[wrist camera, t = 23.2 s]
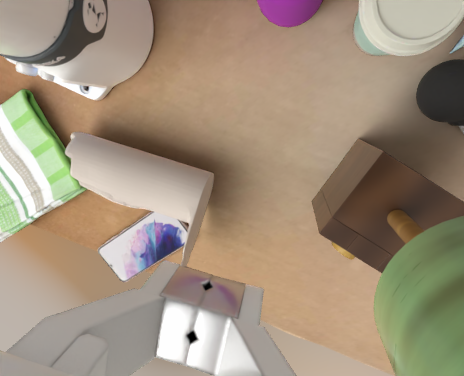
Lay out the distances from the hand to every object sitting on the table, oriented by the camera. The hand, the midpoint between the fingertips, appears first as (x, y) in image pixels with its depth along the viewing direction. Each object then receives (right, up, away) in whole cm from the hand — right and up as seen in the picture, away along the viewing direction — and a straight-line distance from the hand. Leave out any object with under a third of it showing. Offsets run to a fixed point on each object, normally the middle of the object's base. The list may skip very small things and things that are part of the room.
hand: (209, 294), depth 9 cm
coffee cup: (+18, +21, +27) cm, 39 cm away
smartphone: (-6, -1, +37) cm, 38 cm away
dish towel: (-34, +6, +41) cm, 53 cm away
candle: (-4, -2, +32) cm, 32 cm away
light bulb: (+26, +14, +28) cm, 40 cm away
